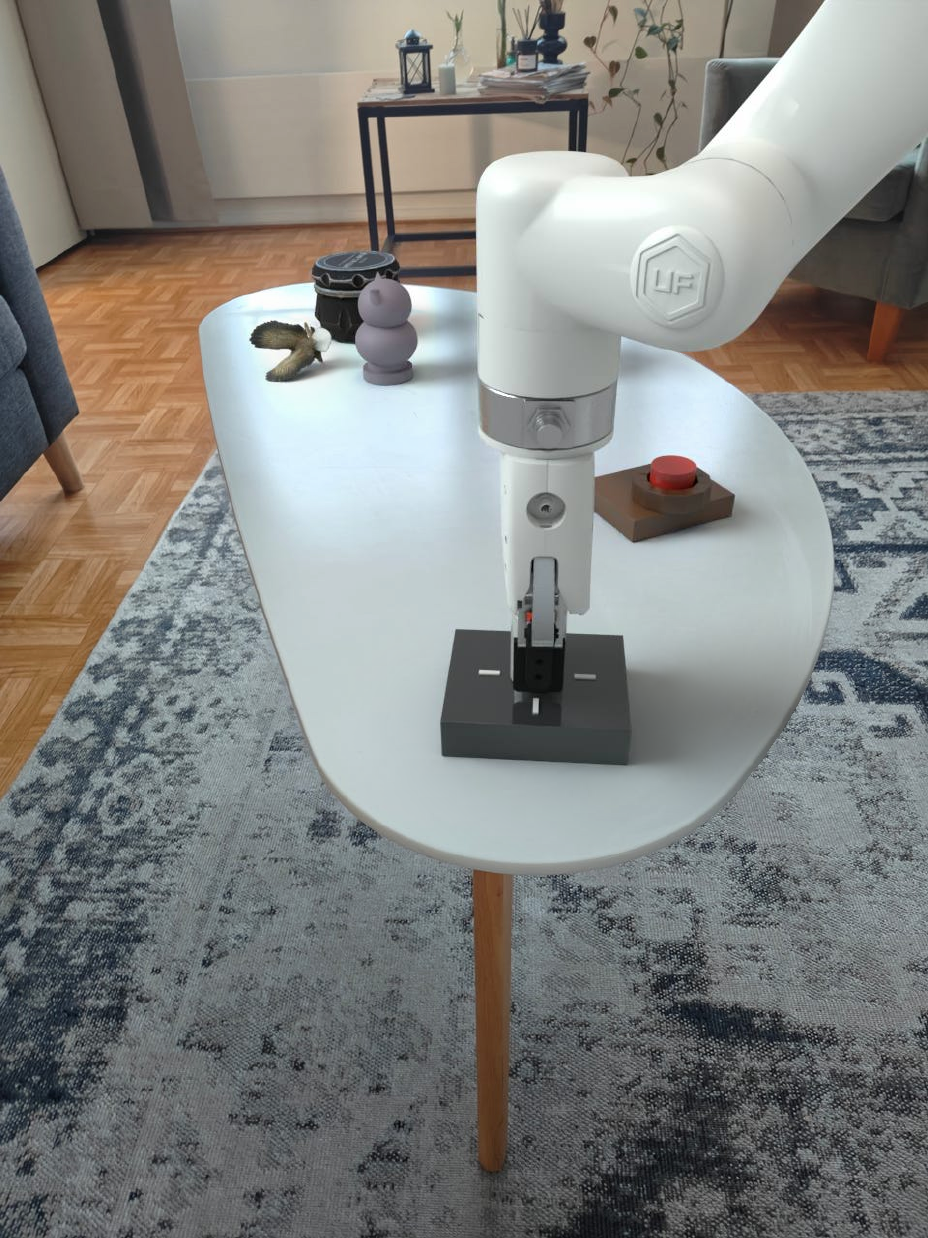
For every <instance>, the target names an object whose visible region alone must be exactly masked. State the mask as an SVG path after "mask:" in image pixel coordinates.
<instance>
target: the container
mask: <svg viewBox="0 0 928 1238" xmlns="http://www.w3.org/2000/svg"><path fill="white" fill-rule="evenodd" d="M377 271H378V273H379V275H380V277H381V278H382V279H391V280H394V281H397V282H398V283H400V284H401V280H400V279H401V278H400V277H399V276H400V273H401V271H402V267H401V265H400V262H399V261H398V260H397V258H396V256H395V255H393V254H391V253H387V252H383V251H382V252H381V251H377V250H376V251H375V250H361V251H359V250H354V251H343V252H341V251H340V252H335V253H331V254H327V255H325V256H321V257H319V258H317V259H316V260H315V261H314V264H313V266H312V267H311V273H310V276H311V278H312V279H313V280H314V283H313V289H314V292H315V293H316V298H315V307H314V308H315V309H314V317H315V319H316V320H317V321H318V322H319V326H320V328H324V329H326V330H327V331H328V332H330V335H331V340H333V341H335V342H337V343H346V344H355V336H356V332H357V330H358V328H359V327H360V326H361V324H362V323H363V322H364V321H363V319H362V318H361V316H360V313H359V309H358V299H359V295H360V293H361V291H362V290H363V289H364V288H365V286H366V285H368V284H369V283H371V282H372V281H374V280H375V277H376V274H377Z"/></svg>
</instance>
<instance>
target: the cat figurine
mask: <svg viewBox="0 0 928 1238" xmlns="http://www.w3.org/2000/svg"><path fill="white" fill-rule="evenodd" d="M412 307H413V304H412V299H411V295H410V293H409V290H408V289H407V288H406V287H405V286H404V285H403V284H401V282H400V283H398V282H397V281H394V280H391V279H382V278H381V277H380V275H379V273H378V271H377V274H376V277H375V280H374V281H372V282H371V283H369V284H368V285H366V286H365V288H364V289H363V290H362V291H361V293H360V295H359V299H358V309H359V313H360V316H361V318H362V319H363V321H364V322H363V323H362V324H361V326H360V327H359V328H358V330H357V332H356V336H355V343H354V344H355V349H356V352H357V353H358V354H359V356H360V357H361V358H362V359H363V360H364V361H366V362H365V363H364V364H363V365H362V374H363V380H364V381H365V382H367V383H369V384H371V385H376V386H396V385H401V384H404V383H406V382H408V381H410V380H411V379H412V378H413V377H414V367H413V366H414V365H413V363H412V361H410V360H409V359H411V358H412V357H413V356H414V353H415V352H416V350H417V348H418V344H419V338H418V333H417V331H416V328H415V327H414V325H413V324H412V323H411V322H410V321H409V320H408V319H409V317H410V316H411V314H412Z"/></svg>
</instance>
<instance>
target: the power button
mask: <svg viewBox="0 0 928 1238" xmlns="http://www.w3.org/2000/svg"><path fill="white" fill-rule="evenodd" d="M650 464H651V470H650V479H649V480H650V483H651V484H652V485H654V486H655V487H659V488H663V489H667V490H684V489H688V488H692V487H693V486H694V482H695V475H696V468H697V467H698V466H697V464H696V462H695V461H694V460H693V459H690V458H688V457H686V456H681V455H675V454H671V455H670V454H667V455H662V456H661V455H660V456H657V457H655V458H654V459H653V460H652V461H651V462H650Z"/></svg>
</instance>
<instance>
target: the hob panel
mask: <svg viewBox="0 0 928 1238" xmlns="http://www.w3.org/2000/svg"><path fill="white" fill-rule="evenodd" d="M624 639H625V638H624V634H623V635H622V634H597V633H596V634H595V633H573V632H572V633H569V632H566V649H565V666H564V678H563V689H562V691H560V692H517V691H515V690H514V689H513V681H512V679H511V676H510V650H511V630H492V629H489V630H488V629H464V628H455V630H454V636H453V641H452V647H451V653H450V660H449V665H448V672H447V678H446V682H445V683H446V684H445V689H444V696H443V702H442V707H441V713H440V720H439V727H440V729H439V730H440V748H441V749H440V750H441V751H440V753H441V756H443V757H459V758H460V757H461V758H465V757H466V758H479V759H480V758H482V759H498V760H499V759H501V760H519V761H520V760H521V761H538V762H539V761H540V762H541V761H542V762H543V761H544V762H558V763H559V762H562V763H581V764H582V763H583V764H599V765H601V764H602V765H620V766H621V765H622V766H628V764H629V757H630V748H631V740H632V732H633V731H632V717H631V707H630V695H629V685H628V675H627V663H626V653H625V642H624Z"/></svg>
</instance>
